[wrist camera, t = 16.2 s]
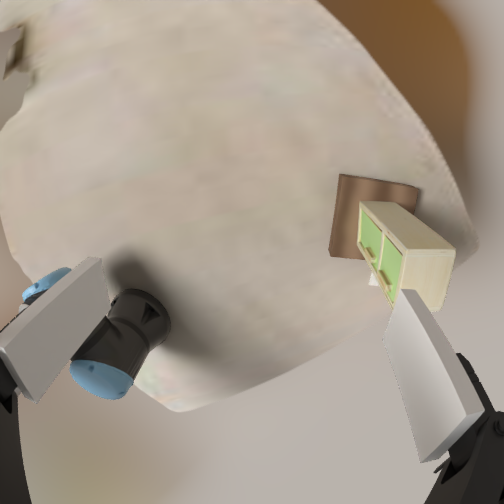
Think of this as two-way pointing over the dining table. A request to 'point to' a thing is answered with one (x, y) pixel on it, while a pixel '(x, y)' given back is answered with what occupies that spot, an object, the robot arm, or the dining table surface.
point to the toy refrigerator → (404, 253)
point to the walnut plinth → (348, 209)
